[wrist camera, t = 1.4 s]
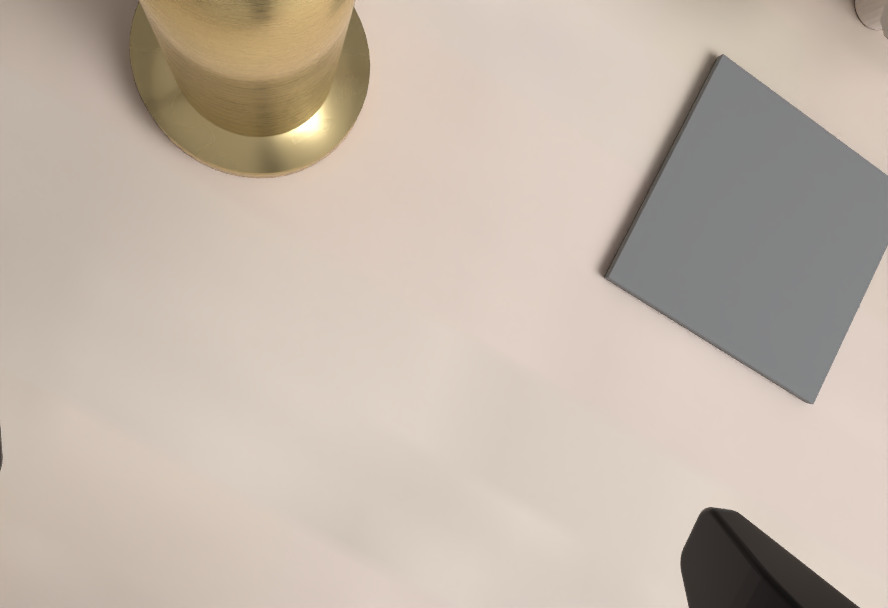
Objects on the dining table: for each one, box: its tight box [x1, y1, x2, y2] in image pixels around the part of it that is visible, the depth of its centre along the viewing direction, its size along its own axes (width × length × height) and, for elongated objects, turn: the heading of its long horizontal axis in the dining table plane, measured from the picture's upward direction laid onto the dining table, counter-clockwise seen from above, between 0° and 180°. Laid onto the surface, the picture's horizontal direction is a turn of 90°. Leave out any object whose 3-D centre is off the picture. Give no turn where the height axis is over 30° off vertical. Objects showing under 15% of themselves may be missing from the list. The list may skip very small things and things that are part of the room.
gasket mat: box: [604, 54, 888, 404], centre depth 24 cm, size 9×9×1 cm
